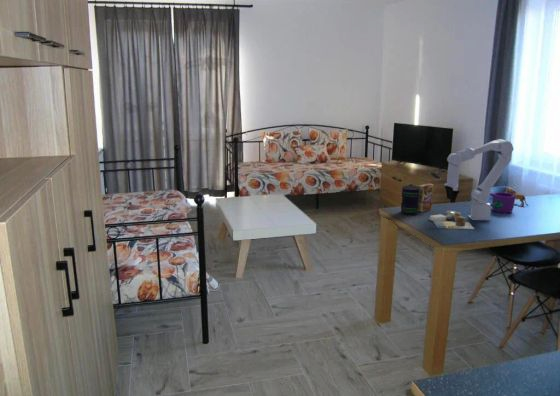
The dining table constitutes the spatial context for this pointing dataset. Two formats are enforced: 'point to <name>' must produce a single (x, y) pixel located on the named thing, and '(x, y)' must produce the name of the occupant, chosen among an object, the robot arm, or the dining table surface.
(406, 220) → the dining table surface
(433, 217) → the soap bar
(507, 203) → the mug
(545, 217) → the dining table surface
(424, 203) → the candy box
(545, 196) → the dining table surface
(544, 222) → the dining table surface
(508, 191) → the lion figurine
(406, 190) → the storage jar
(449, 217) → the tin
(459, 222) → the walnut cylinder
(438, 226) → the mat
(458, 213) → the cork
